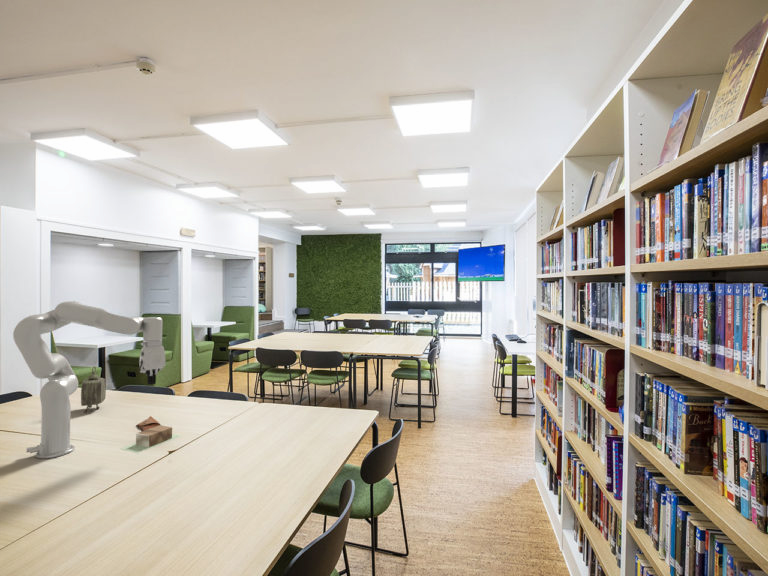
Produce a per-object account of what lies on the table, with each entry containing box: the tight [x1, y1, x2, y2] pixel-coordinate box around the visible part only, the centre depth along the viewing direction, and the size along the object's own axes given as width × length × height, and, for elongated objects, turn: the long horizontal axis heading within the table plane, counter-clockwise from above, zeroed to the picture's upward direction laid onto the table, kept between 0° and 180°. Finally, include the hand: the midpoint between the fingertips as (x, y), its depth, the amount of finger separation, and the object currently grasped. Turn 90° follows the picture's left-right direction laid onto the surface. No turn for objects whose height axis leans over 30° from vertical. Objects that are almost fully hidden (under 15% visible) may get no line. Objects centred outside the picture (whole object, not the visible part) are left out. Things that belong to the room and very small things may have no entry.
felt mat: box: [120, 433, 181, 454], centre depth 180 cm, size 22×11×1 cm, turn 158°
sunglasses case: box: [135, 415, 161, 431], centre depth 199 cm, size 18×7×7 cm
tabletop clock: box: [80, 366, 107, 413], centre depth 228 cm, size 14×9×25 cm, turn 25°
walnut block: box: [135, 424, 173, 447], centre depth 181 cm, size 5×8×12 cm
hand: (151, 383), depth 180 cm, fingers closed
